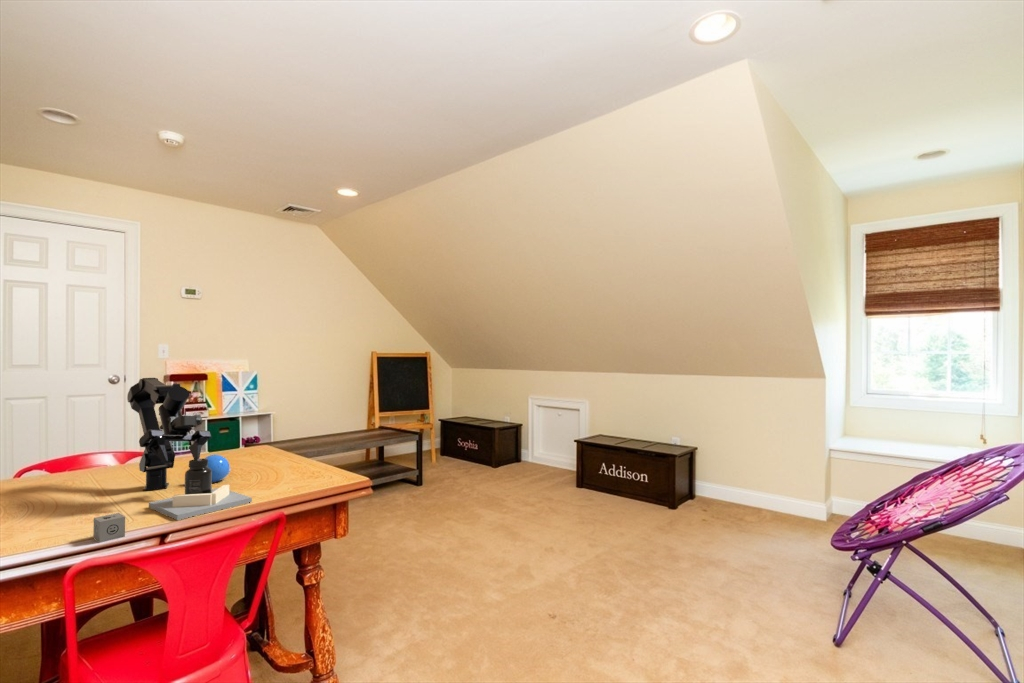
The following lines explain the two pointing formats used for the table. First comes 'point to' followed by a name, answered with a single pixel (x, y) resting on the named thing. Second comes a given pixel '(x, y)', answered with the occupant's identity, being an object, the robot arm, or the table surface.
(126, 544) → the table surface
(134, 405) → the robot arm
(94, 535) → the dice cube
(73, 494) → the table surface
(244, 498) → the v cradle
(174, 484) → the table surface
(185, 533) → the table surface
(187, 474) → the supplement bottle
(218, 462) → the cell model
